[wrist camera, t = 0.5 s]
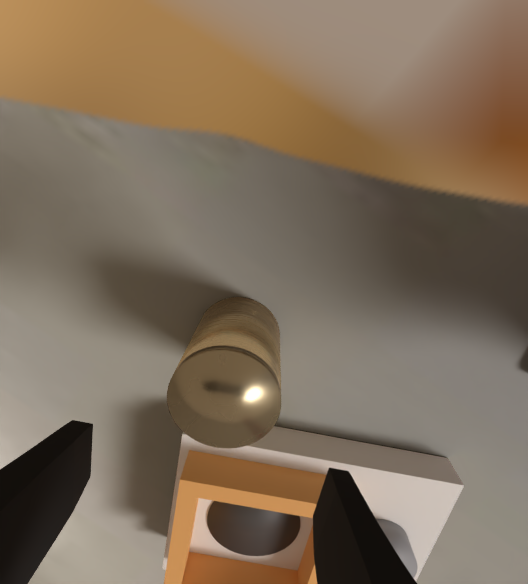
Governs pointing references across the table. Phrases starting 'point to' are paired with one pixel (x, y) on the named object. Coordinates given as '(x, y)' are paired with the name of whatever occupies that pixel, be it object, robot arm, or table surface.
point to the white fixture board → (294, 505)
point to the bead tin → (229, 376)
